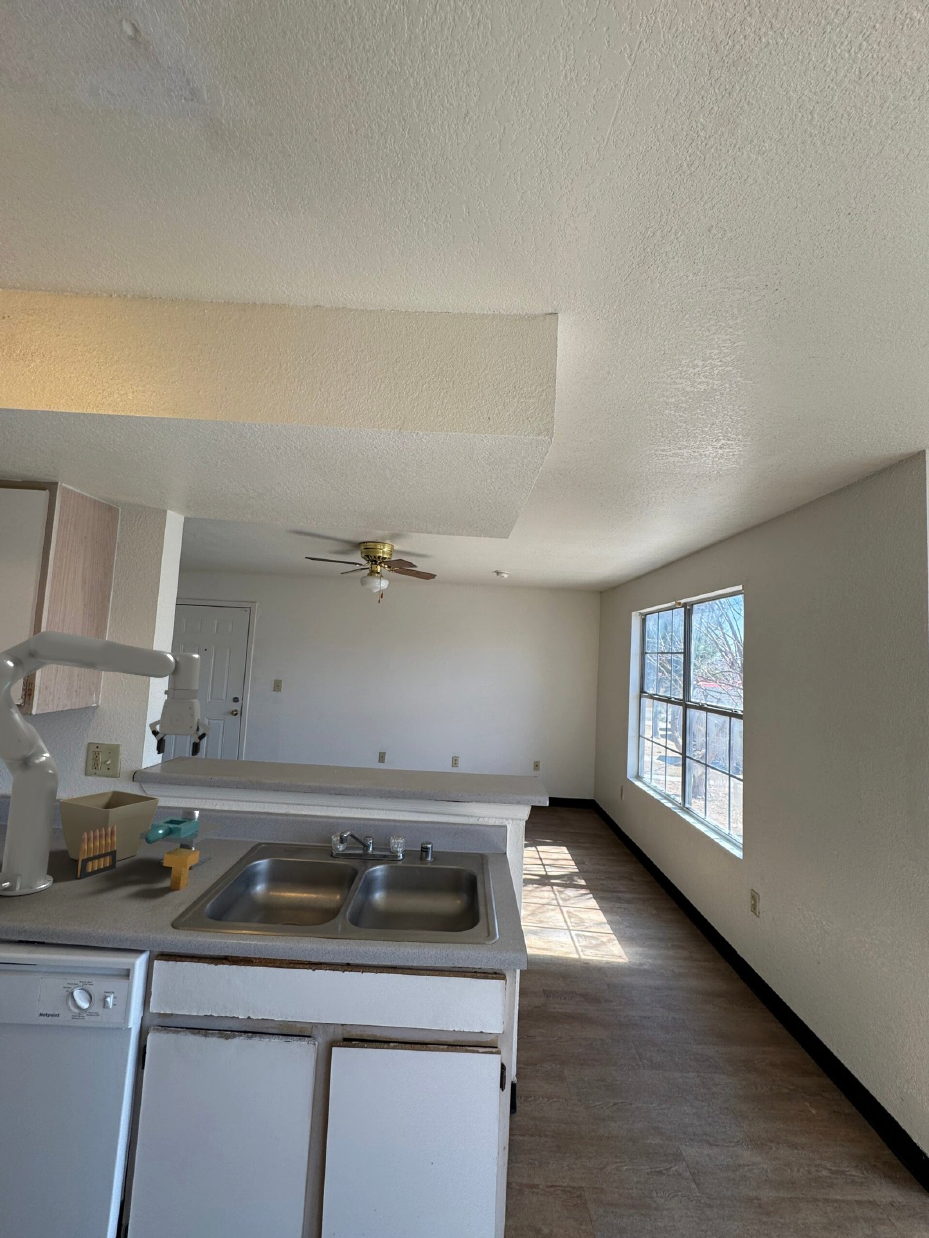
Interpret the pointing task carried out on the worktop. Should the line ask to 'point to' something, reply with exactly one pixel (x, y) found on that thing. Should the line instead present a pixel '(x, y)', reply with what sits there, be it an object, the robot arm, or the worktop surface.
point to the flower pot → (107, 819)
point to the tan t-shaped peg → (180, 865)
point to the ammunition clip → (97, 853)
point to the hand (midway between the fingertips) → (177, 754)
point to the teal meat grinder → (183, 832)
